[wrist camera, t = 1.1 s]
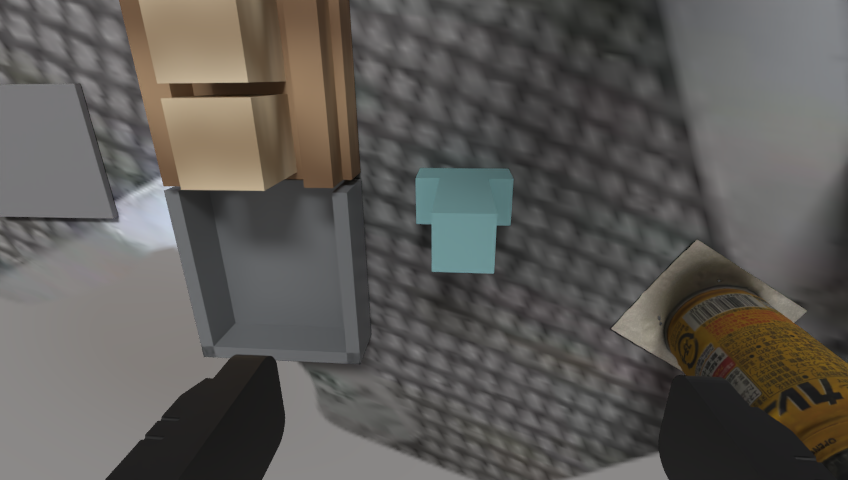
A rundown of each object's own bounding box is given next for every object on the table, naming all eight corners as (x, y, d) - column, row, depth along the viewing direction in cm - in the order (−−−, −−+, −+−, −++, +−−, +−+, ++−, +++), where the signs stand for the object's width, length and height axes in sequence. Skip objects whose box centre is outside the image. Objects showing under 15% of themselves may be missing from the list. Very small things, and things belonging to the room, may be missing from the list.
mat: (-46, 85, 25) (-54, 85, 24) (80, 83, 24) (74, 83, 24) (4, 214, 28) (-2, 216, 27) (118, 216, 27) (113, 218, 27)
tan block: (212, 94, 22) (160, 98, 18) (287, 94, 21) (250, 97, 18) (226, 171, 23) (180, 189, 19) (297, 172, 23) (264, 190, 19)
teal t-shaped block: (420, 168, 24) (399, 212, 16) (508, 168, 24) (530, 214, 16) (420, 209, 25) (401, 271, 17) (505, 210, 25) (525, 274, 17)
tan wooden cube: (193, -8, 20) (132, -27, 16) (274, -11, 20) (231, -31, 16) (210, 82, 22) (157, 83, 18) (286, 81, 21) (248, 82, 17)
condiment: (713, 389, 28) (879, 597, 17) (609, 327, 27) (712, 504, 16) (804, 308, 25) (1073, 492, 14) (694, 237, 24) (888, 373, 13)
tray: (198, 177, 26) (164, 190, 23) (361, 178, 25) (346, 192, 22) (230, 328, 29) (203, 356, 26) (371, 334, 29) (360, 364, 26)
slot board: (121, -198, 19) (44, -259, 16) (334, -214, 18) (304, -282, 15) (197, 170, 25) (154, 186, 22) (360, 172, 25) (342, 188, 21)
